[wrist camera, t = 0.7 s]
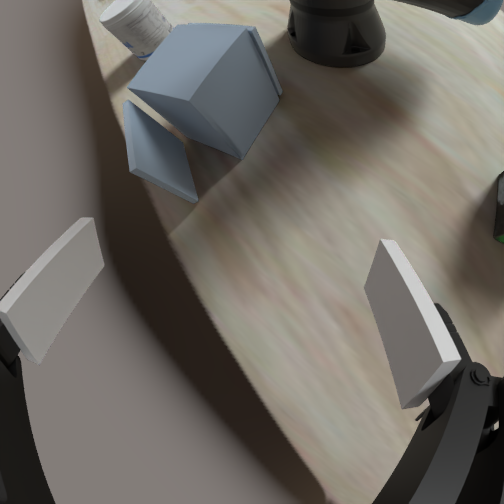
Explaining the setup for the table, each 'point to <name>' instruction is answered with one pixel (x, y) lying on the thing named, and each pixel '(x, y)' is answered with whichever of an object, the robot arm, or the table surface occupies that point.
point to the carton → (211, 84)
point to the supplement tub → (136, 25)
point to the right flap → (157, 154)
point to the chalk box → (500, 211)
